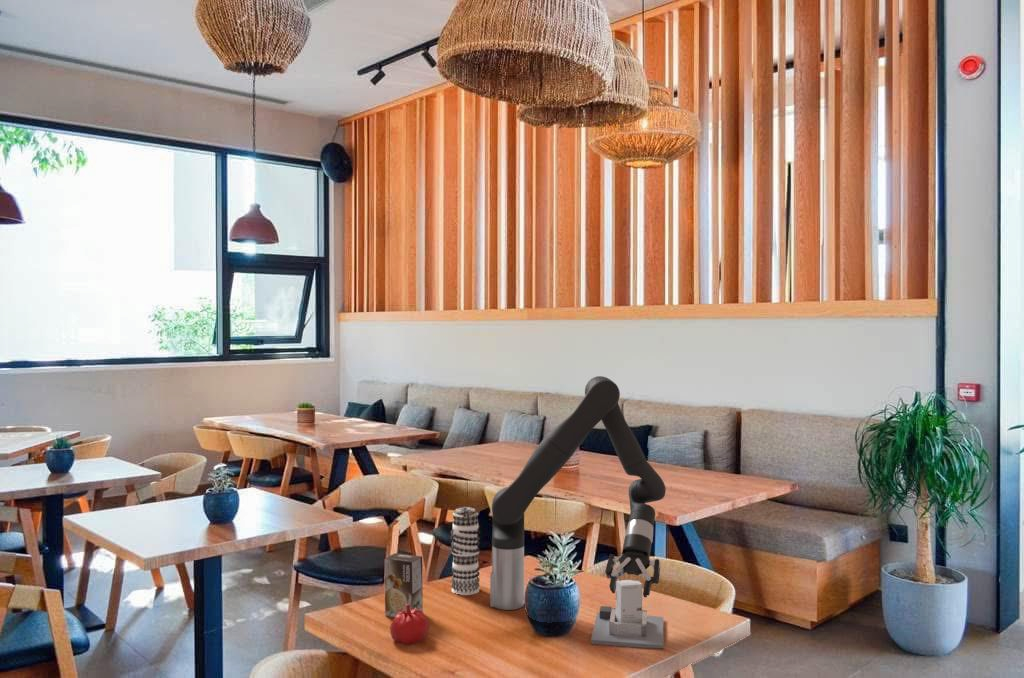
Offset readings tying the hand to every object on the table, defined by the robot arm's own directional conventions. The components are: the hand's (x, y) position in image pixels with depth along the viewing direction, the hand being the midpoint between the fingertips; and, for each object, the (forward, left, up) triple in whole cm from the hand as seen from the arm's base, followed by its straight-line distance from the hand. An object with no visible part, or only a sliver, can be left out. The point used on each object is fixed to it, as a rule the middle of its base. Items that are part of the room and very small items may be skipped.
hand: (628, 593), depth 215 cm
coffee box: (-62, +1, -10) cm, 63 cm away
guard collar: (0, 0, -10) cm, 10 cm away
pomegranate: (-55, -16, -10) cm, 58 cm away
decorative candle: (-50, +24, -10) cm, 56 cm away
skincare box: (0, 0, -9) cm, 9 cm away
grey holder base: (0, 0, -10) cm, 10 cm away
